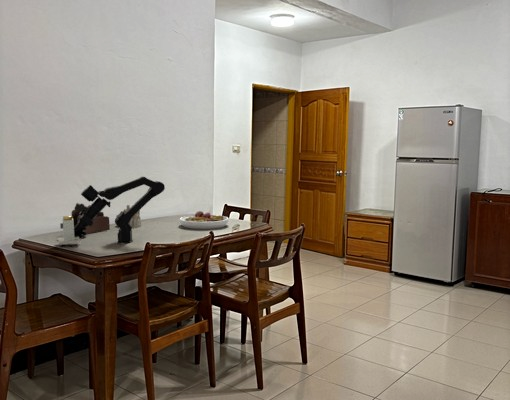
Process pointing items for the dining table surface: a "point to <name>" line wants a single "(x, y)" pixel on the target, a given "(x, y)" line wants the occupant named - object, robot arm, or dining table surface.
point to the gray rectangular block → (69, 241)
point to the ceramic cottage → (134, 219)
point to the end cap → (80, 233)
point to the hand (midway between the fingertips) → (74, 230)
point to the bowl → (203, 221)
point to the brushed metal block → (68, 228)
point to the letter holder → (98, 223)
